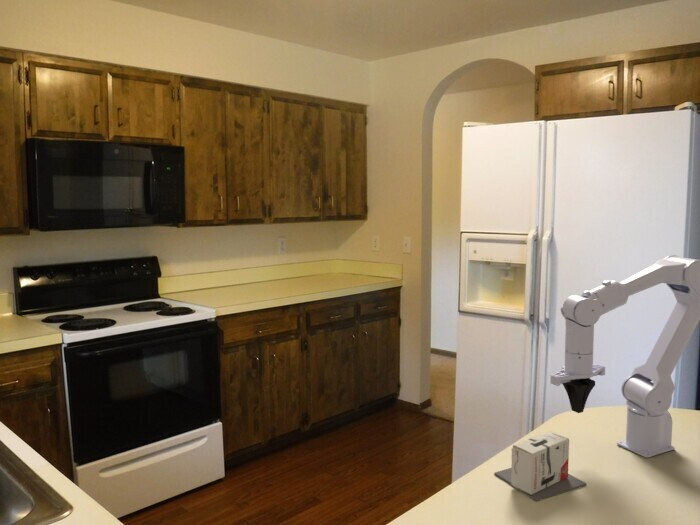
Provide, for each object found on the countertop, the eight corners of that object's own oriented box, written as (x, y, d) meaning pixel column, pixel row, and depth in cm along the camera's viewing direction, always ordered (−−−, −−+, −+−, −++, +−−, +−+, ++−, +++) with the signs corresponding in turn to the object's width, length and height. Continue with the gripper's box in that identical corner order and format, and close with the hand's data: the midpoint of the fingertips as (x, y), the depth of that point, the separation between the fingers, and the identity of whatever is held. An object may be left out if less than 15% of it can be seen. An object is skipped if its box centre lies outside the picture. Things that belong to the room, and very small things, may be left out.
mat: (541, 460, 127) (541, 459, 127) (586, 485, 117) (586, 483, 117) (494, 474, 122) (494, 472, 122) (536, 501, 111) (536, 499, 111)
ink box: (569, 478, 119) (530, 496, 112) (548, 469, 123) (510, 485, 116) (570, 438, 118) (531, 453, 111) (549, 429, 122) (510, 444, 115)
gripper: (587, 342, 135) (586, 399, 136) (540, 351, 128) (539, 411, 130) (614, 349, 128) (611, 409, 130) (565, 359, 122) (564, 422, 124)
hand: (577, 411), depth 130 cm, fingers closed
